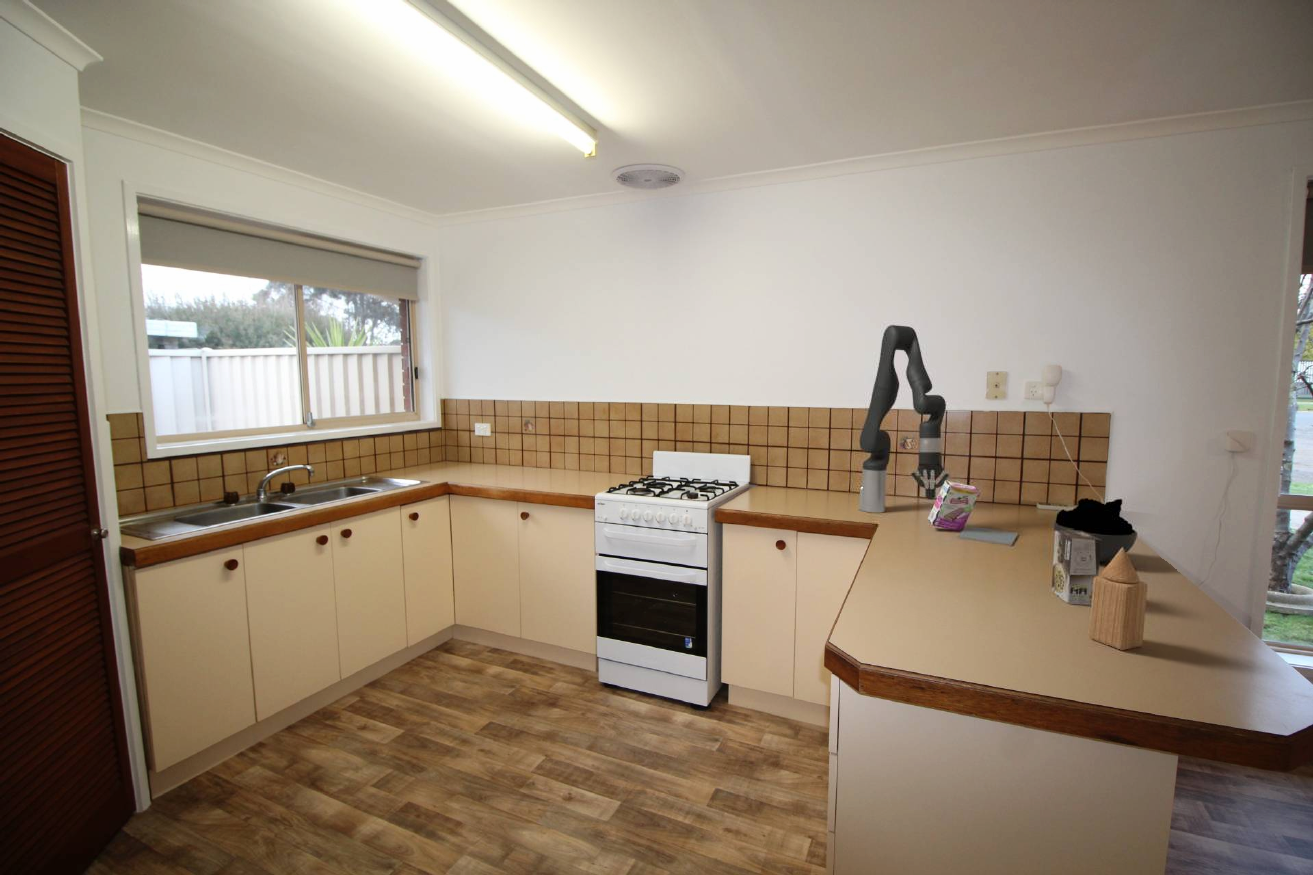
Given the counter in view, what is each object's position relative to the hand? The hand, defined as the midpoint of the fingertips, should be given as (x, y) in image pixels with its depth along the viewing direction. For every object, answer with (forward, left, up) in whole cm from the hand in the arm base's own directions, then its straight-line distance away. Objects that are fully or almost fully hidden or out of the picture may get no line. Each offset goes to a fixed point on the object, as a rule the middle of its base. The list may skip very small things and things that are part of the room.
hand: (930, 499), depth 211 cm
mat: (+18, +3, -11) cm, 22 cm away
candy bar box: (+4, +3, -10) cm, 11 cm away
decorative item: (+52, -76, -11) cm, 93 cm away
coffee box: (+44, -51, -11) cm, 68 cm away
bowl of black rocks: (+47, -9, -11) cm, 49 cm away
